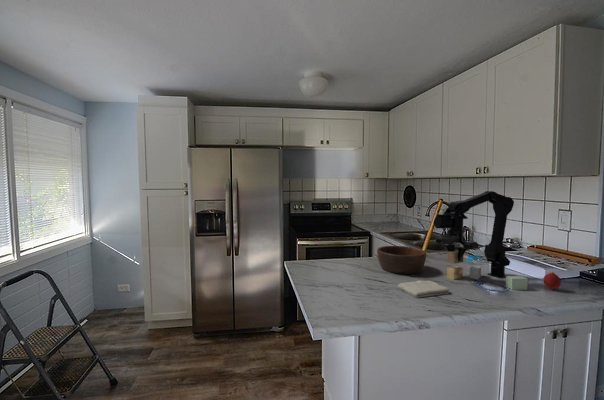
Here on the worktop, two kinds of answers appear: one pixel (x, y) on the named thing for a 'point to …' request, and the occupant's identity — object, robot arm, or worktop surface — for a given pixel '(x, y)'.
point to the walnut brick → (453, 257)
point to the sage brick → (516, 282)
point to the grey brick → (475, 272)
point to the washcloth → (423, 288)
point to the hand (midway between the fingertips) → (455, 259)
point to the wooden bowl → (401, 259)
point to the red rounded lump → (552, 280)
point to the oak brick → (455, 272)
